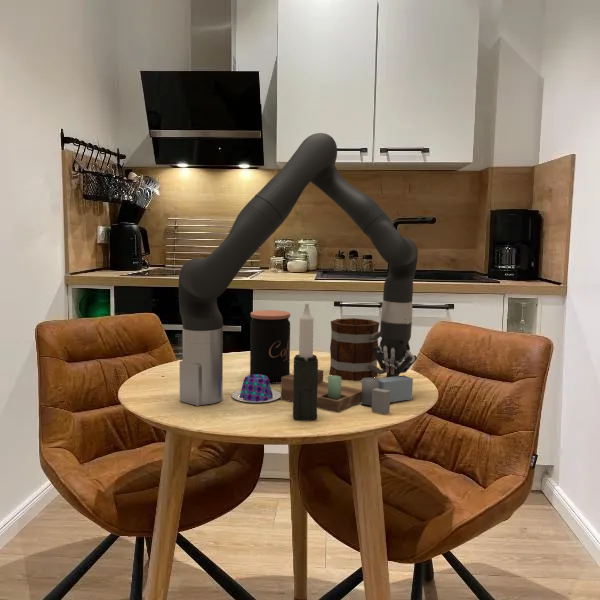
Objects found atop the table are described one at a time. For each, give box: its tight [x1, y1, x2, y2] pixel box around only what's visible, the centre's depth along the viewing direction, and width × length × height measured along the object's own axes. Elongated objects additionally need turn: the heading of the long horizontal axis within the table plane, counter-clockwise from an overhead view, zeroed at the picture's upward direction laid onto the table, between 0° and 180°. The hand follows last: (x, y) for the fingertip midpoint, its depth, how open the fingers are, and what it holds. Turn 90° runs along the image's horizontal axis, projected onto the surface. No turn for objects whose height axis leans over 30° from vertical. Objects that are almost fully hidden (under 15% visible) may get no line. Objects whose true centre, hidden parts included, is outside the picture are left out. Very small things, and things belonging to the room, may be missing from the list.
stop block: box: [371, 388, 391, 415], centre depth 133 cm, size 2×4×5 cm, turn 54°
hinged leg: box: [360, 375, 414, 406], centre depth 141 cm, size 13×4×6 cm, turn 118°
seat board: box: [280, 369, 362, 413], centre depth 141 cm, size 12×16×5 cm
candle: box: [292, 302, 319, 421], centre depth 128 cm, size 5×5×25 cm
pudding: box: [231, 374, 281, 403], centre depth 143 cm, size 12×12×5 cm
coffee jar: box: [249, 309, 291, 384], centre depth 159 cm, size 11×11×18 cm
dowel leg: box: [327, 375, 342, 400], centre depth 136 cm, size 3×3×7 cm
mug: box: [329, 317, 387, 382], centre depth 163 cm, size 20×14×15 cm
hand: (391, 388), depth 147 cm, fingers closed
